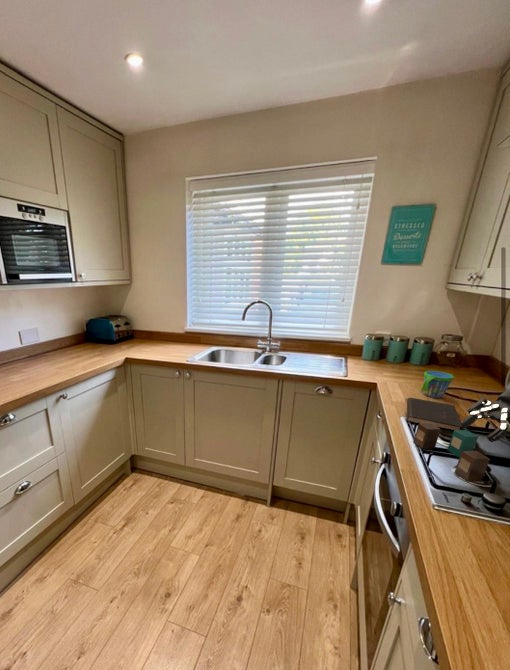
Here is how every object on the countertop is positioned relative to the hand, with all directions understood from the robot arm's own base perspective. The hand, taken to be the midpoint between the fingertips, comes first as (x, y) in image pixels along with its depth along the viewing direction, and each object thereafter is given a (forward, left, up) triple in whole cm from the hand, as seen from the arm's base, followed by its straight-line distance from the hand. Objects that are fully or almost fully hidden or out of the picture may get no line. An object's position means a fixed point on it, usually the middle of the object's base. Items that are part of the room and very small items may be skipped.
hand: (475, 432), depth 95 cm
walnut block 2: (+9, +13, -8) cm, 18 cm away
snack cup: (-23, -54, -8) cm, 59 cm away
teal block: (+3, 0, -8) cm, 9 cm away
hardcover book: (-8, -30, -8) cm, 32 cm away
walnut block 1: (+11, -3, -8) cm, 14 cm away
